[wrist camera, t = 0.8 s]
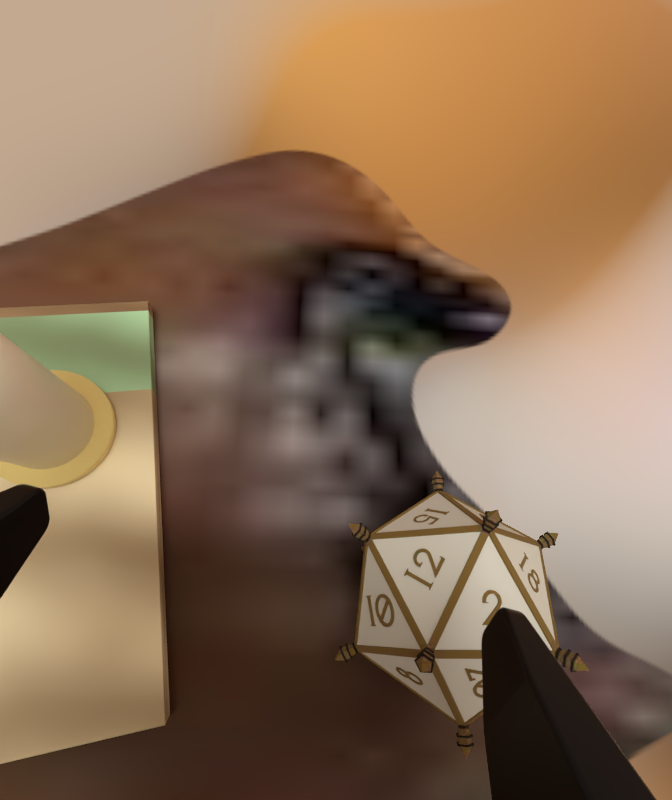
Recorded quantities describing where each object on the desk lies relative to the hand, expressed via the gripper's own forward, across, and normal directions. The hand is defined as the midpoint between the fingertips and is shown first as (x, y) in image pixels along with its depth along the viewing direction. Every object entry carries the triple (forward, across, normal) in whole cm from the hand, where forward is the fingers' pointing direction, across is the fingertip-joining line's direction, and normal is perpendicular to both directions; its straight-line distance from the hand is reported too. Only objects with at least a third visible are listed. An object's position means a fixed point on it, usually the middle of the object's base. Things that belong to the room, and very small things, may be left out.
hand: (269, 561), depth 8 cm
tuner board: (+7, +10, +9) cm, 15 cm away
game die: (+9, -6, +10) cm, 14 cm away
